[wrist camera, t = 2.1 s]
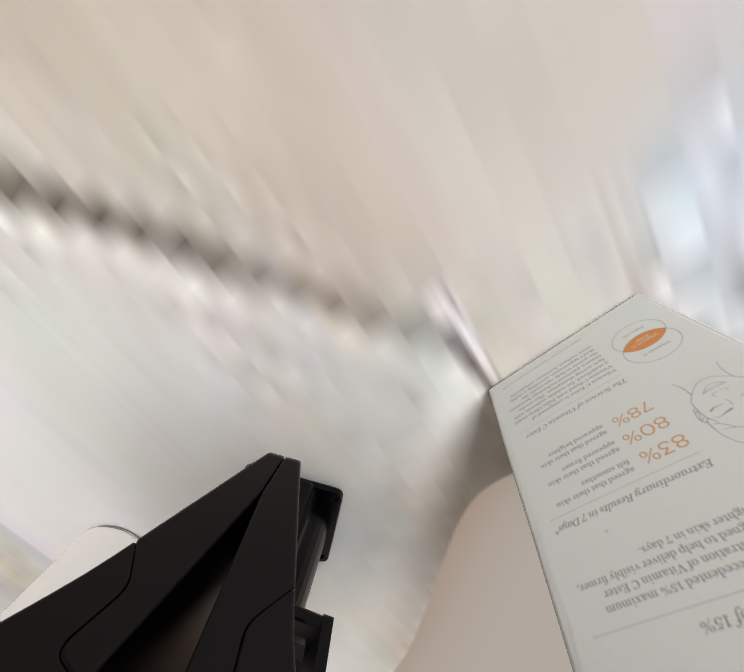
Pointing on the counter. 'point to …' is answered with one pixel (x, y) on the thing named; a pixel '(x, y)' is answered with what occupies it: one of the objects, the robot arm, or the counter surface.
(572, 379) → the small box
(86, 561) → the can
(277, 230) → the counter surface
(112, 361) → the counter surface
